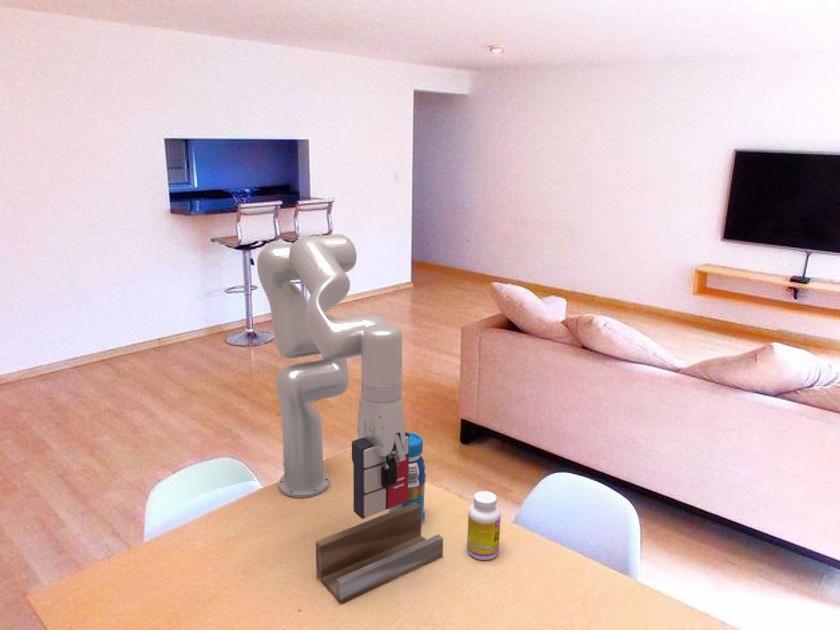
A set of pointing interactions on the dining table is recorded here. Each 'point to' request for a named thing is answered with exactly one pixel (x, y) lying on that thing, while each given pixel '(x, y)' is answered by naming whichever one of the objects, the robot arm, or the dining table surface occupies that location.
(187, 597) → the dining table surface
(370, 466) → the calculator
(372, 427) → the robot arm
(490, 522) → the supplement bottle
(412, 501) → the beverage bottle
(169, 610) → the dining table surface
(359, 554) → the wooden channel stand
